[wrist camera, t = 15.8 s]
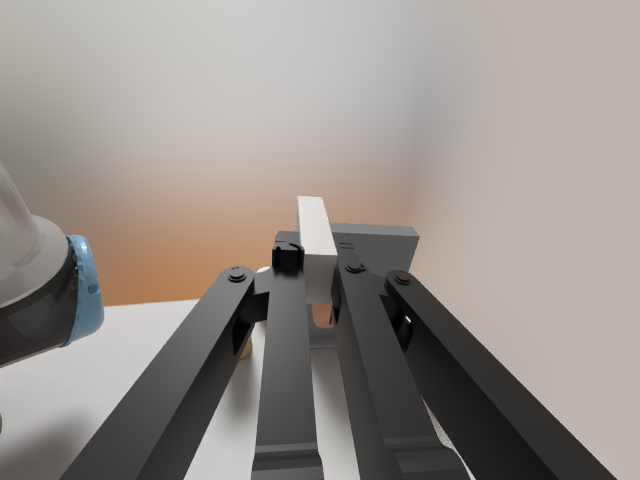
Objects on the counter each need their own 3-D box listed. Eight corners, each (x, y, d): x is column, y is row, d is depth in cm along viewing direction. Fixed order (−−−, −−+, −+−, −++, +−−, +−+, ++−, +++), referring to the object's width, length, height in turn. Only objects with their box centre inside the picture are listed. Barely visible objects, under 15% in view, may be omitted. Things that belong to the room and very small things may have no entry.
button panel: (296, 348, 47) (306, 236, 36) (295, 317, 53) (303, 214, 42) (391, 347, 49) (427, 241, 38) (379, 318, 55) (408, 219, 44)
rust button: (311, 328, 41) (314, 306, 39) (307, 279, 51) (309, 260, 48) (340, 328, 41) (344, 306, 39) (330, 280, 51) (333, 261, 49)
